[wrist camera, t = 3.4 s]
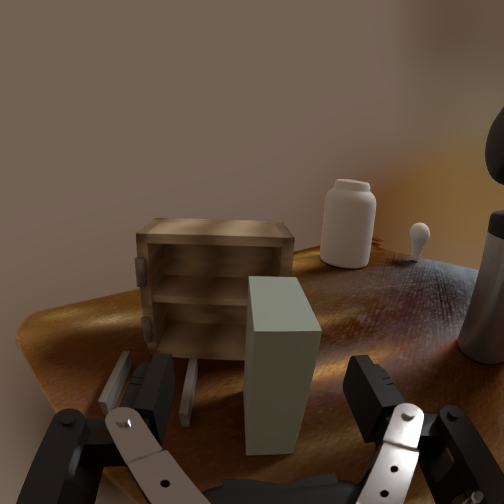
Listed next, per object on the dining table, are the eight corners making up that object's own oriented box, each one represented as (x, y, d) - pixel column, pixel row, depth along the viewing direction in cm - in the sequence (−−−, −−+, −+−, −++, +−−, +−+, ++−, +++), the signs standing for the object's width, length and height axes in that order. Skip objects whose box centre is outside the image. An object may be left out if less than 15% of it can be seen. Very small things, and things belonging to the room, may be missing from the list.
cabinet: (274, 326, 42) (282, 221, 37) (296, 427, 24) (324, 279, 19) (147, 321, 40) (139, 218, 36) (103, 414, 23) (63, 269, 18)
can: (309, 258, 73) (316, 176, 67) (337, 250, 80) (345, 178, 74) (351, 273, 63) (362, 182, 58) (376, 263, 71) (386, 184, 65)
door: (290, 390, 29) (307, 277, 25) (304, 452, 21) (337, 330, 17) (243, 390, 29) (248, 276, 25) (246, 455, 20) (254, 331, 17)
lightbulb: (427, 265, 71) (435, 226, 68) (408, 263, 72) (415, 223, 69) (419, 258, 77) (426, 222, 74) (401, 257, 78) (408, 219, 74)
